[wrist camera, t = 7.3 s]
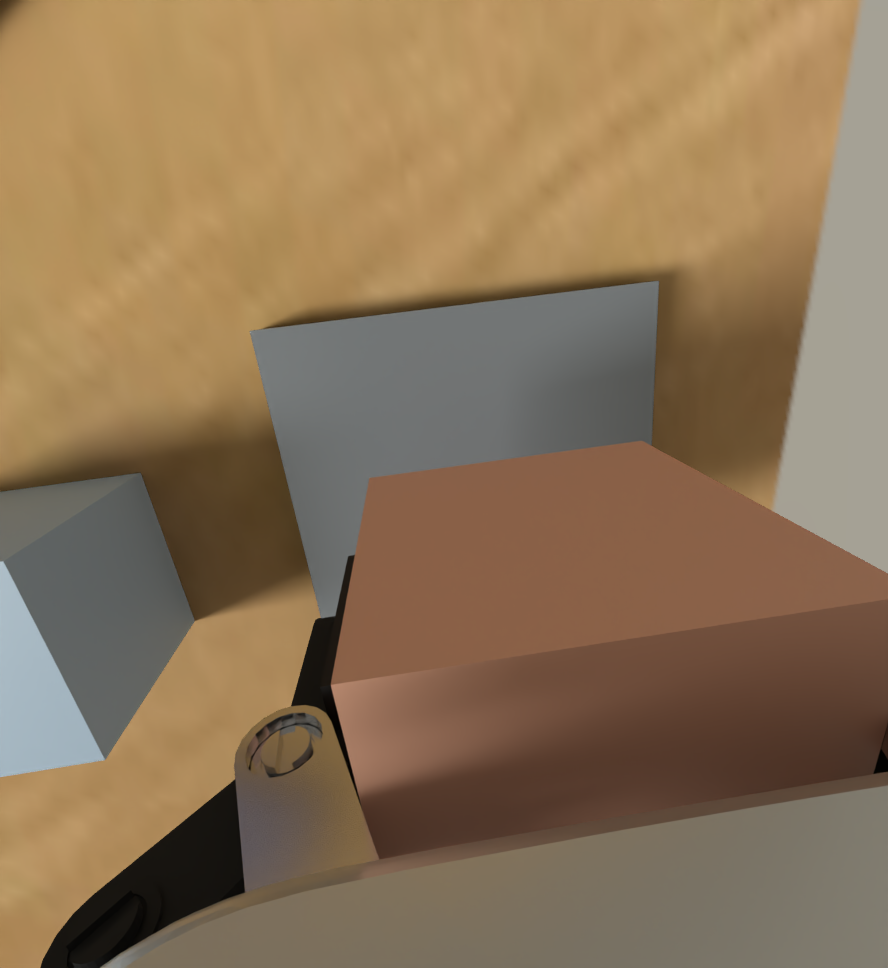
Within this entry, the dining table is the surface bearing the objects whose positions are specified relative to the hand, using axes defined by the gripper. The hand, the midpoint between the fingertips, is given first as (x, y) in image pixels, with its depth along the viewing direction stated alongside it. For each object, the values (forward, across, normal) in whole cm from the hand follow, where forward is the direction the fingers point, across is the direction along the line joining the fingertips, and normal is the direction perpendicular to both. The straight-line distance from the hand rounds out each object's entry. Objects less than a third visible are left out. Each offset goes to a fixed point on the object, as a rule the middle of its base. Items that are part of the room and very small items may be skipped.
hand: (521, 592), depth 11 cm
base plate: (+7, 0, 0) cm, 7 cm away
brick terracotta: (+1, 0, 0) cm, 1 cm away
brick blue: (+7, +14, +1) cm, 16 cm away
